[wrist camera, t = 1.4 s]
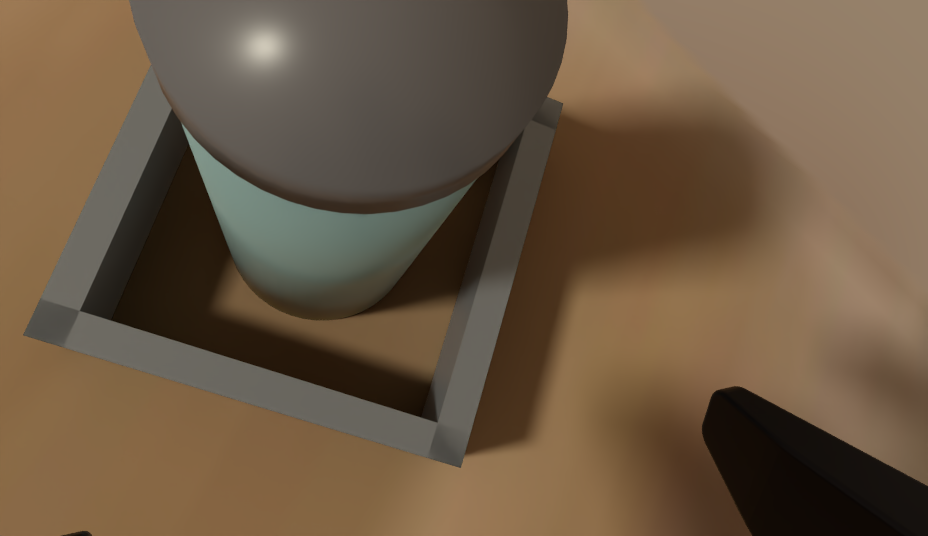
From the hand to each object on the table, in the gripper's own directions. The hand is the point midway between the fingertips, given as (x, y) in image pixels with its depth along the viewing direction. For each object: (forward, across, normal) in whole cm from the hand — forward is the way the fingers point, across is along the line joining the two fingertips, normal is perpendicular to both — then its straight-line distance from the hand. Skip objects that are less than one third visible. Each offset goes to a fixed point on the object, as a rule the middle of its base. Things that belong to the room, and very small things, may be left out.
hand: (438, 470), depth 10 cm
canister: (+14, 0, +4) cm, 15 cm away
